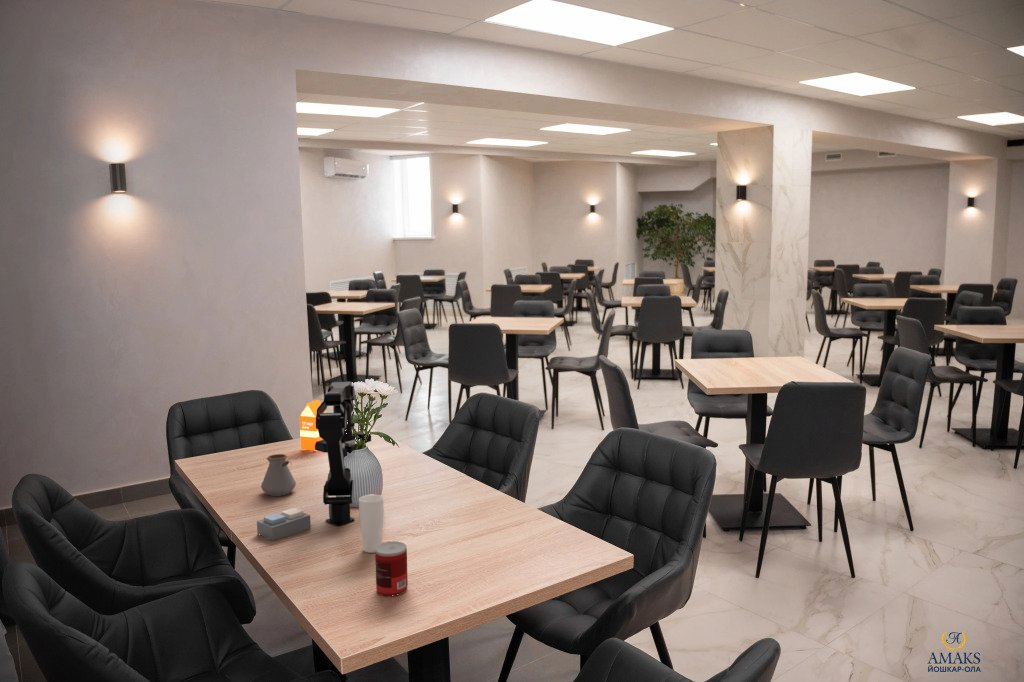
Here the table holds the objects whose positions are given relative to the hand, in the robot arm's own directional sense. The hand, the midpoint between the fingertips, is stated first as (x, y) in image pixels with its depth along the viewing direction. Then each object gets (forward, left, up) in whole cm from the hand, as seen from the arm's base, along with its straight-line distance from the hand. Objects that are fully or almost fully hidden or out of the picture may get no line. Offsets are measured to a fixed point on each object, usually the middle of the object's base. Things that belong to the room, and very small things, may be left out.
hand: (344, 467), depth 246 cm
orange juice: (+67, -36, -13) cm, 77 cm away
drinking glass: (-35, +18, -13) cm, 41 cm away
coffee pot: (+24, +8, -13) cm, 29 cm away
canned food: (-58, +31, -13) cm, 67 cm away
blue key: (-3, +29, -12) cm, 31 cm away
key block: (-3, +25, -13) cm, 29 cm away
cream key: (-3, +22, -12) cm, 26 cm away
